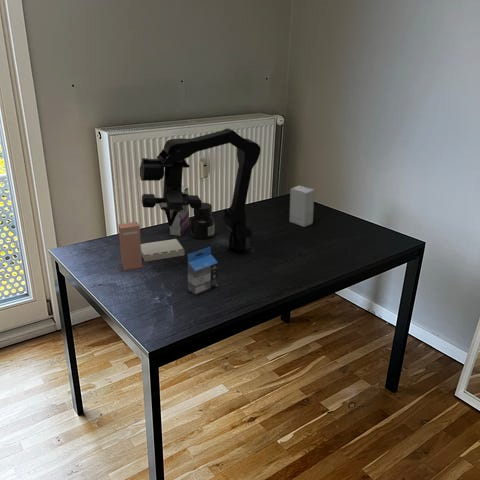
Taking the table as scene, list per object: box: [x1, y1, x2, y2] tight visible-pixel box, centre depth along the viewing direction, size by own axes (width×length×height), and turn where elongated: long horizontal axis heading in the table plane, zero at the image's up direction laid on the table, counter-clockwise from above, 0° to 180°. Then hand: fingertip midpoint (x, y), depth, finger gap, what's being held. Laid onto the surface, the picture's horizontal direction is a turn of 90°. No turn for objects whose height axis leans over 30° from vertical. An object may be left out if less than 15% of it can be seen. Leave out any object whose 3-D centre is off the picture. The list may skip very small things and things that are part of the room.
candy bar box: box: [168, 185, 191, 237], centre depth 183 cm, size 11×5×16 cm, turn 168°
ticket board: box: [141, 238, 186, 263], centre depth 168 cm, size 14×10×2 cm
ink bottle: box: [190, 202, 215, 240], centre depth 181 cm, size 10×9×12 cm
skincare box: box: [288, 185, 315, 228], centre depth 194 cm, size 8×6×15 cm
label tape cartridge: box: [187, 246, 219, 295], centre depth 144 cm, size 9×4×12 cm, turn 131°
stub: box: [117, 221, 143, 271], centre depth 155 cm, size 6×4×15 cm, turn 113°
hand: (170, 225), depth 158 cm, fingers closed
